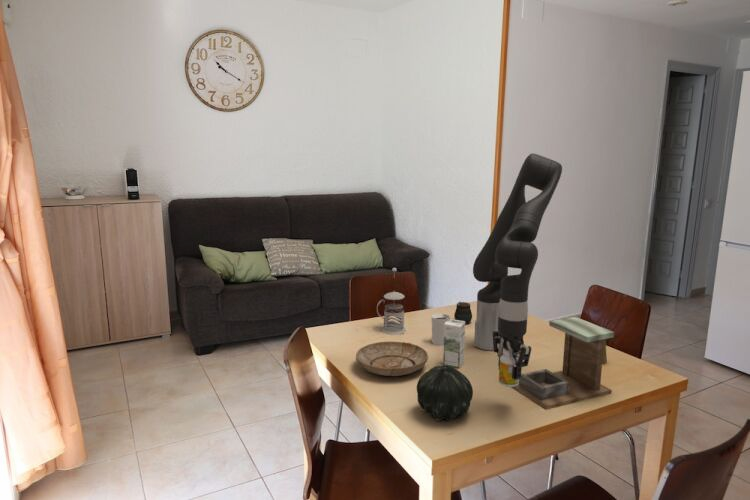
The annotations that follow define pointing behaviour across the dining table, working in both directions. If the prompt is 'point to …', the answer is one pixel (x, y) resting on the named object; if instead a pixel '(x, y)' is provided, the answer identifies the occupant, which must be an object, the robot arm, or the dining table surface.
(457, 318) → the mate gourd
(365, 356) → the ceramic bowl
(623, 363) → the dining table surface
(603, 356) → the cork
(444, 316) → the white mug
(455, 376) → the squash
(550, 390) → the awning stand
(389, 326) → the french press
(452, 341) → the syrup box
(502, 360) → the supplement bottle
